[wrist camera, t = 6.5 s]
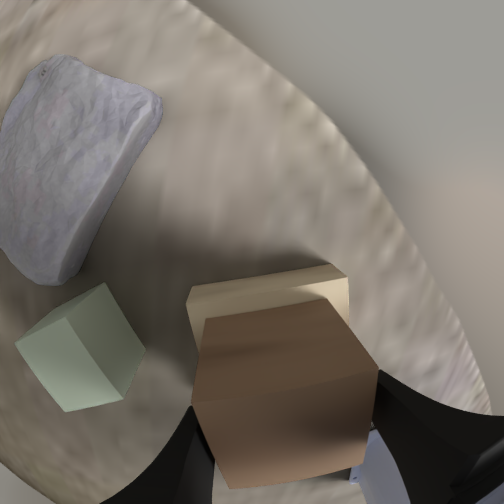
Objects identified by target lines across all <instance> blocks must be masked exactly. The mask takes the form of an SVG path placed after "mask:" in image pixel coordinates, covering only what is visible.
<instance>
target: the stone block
mask: <svg viewBox="0 0 504 504" xmlns="http://www.w3.org/2000/svg"><path fill="white" fill-rule="evenodd" d="M162 115H163V107H162V98H161V97H159V96H158V95H157V94H155V93H154V92H153V91H151V90H149V89H146V88H144V87H142V86H140V85H137V84H130V83H127V82H125V81H123V80H122V79H118V78H114V77H112V76H109V75H106V74H103V73H101V72H99V71H97V70H95V69H93V68H91V67H89V66H87V65H85V64H84V63H83V62H82V61H80V60H79V59H78V58H76V57H72V56H69V55H62V54H58V55H54V56H53V57H52V58H51V59H49V60H48V61H47V60H44V61H42V62H41V63H40V64H39V65H38V66H36V67H35V68H34V69H33V70H31V71H30V72H29V74H28V75H27V77H26V79H25V82H24V84H23V86H22V88H21V90H20V91H19V93H18V94H17V95H16V97H15V98H14V99H13V100H12V102H11V104H10V106H9V108H8V110H7V112H6V114H5V117H4V119H3V123H2V130H1V132H0V248H1V249H2V250H3V251H4V252H5V253H6V255H7V257H8V259H9V260H10V262H11V263H13V264H14V265H15V267H16V268H17V269H18V270H19V271H20V272H21V273H22V274H23V275H24V276H25V277H27V278H28V279H30V280H32V281H33V282H35V283H36V284H39V285H48V286H58V285H59V286H60V285H63V284H64V283H66V282H67V280H68V279H69V278H72V277H73V276H75V275H77V273H78V272H79V270H80V268H81V266H82V264H83V262H84V260H85V258H86V255H87V253H88V251H89V248H90V246H91V244H92V242H93V240H94V238H95V236H96V233H97V231H98V229H99V227H100V225H101V223H102V221H103V219H104V217H105V215H106V213H107V211H108V210H109V208H110V206H111V204H112V202H113V200H114V198H115V196H116V194H117V192H118V191H119V189H120V187H121V186H122V184H123V182H124V180H125V179H126V177H127V175H128V173H129V171H130V169H131V167H132V166H133V164H134V163H135V161H136V159H137V158H138V156H139V155H140V153H141V152H142V150H143V149H144V147H145V146H146V144H147V143H148V141H149V140H150V138H151V137H152V135H153V134H154V132H155V131H156V129H157V128H158V126H159V124H160V121H161V119H162Z"/></svg>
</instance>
